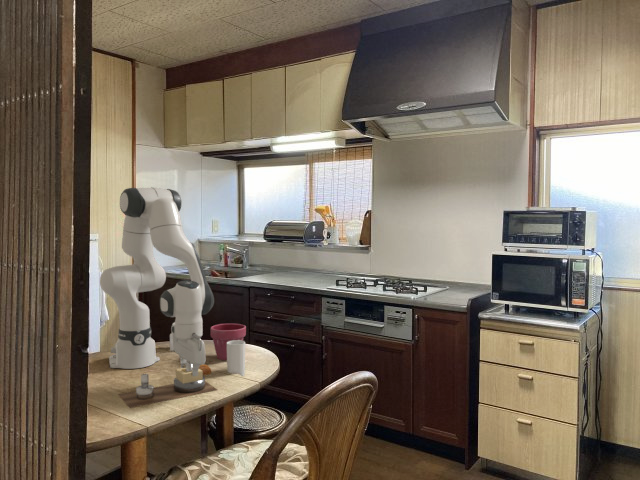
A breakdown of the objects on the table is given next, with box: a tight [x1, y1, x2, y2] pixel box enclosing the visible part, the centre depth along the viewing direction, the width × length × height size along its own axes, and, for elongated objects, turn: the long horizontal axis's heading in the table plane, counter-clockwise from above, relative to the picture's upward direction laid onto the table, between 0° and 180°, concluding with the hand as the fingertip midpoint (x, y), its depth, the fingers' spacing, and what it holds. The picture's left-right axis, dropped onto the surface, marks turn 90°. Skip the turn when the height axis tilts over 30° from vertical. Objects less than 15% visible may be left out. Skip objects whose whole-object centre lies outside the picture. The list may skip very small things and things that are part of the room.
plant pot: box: [210, 323, 247, 361], centre depth 212 cm, size 14×14×13 cm
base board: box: [117, 380, 218, 409], centre depth 168 cm, size 14×28×2 cm, turn 125°
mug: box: [226, 340, 246, 377], centre depth 192 cm, size 10×7×12 cm, turn 170°
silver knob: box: [135, 373, 155, 400], centre depth 163 cm, size 5×5×7 cm
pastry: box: [199, 363, 213, 376], centre depth 189 cm, size 9×7×4 cm
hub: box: [173, 360, 206, 393], centre depth 171 cm, size 10×10×9 cm
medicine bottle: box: [169, 321, 175, 352], centre depth 225 cm, size 7×7×12 cm
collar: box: [175, 367, 204, 384], centre depth 171 cm, size 7×7×3 cm
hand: (189, 371), depth 171 cm, fingers open, 8 cm apart
